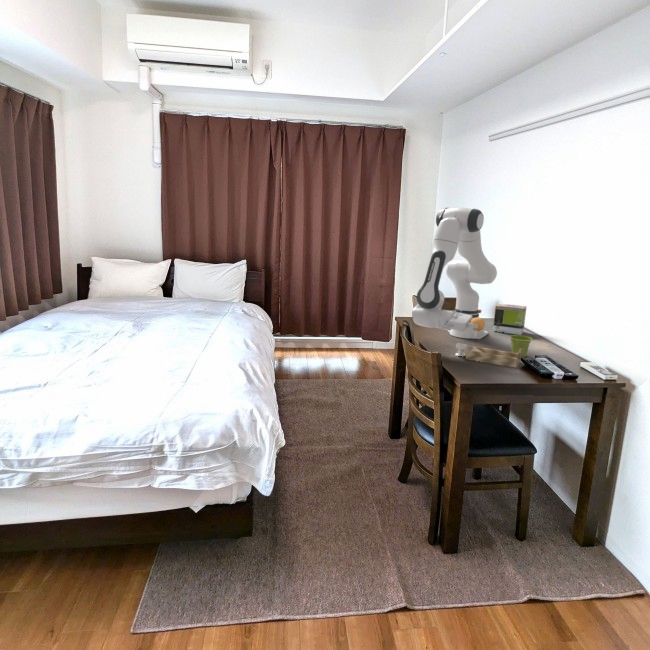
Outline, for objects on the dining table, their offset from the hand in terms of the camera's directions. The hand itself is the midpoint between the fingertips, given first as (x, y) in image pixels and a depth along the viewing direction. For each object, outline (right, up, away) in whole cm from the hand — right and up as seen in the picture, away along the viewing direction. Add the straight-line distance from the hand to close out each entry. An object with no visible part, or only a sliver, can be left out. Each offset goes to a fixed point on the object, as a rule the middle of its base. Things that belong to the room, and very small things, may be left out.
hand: (479, 324), depth 210 cm
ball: (-1, -3, +1) cm, 3 cm away
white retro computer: (+33, -4, +54) cm, 63 cm away
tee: (-7, -14, +7) cm, 17 cm away
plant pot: (+21, -14, +10) cm, 28 cm away
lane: (+6, -16, +1) cm, 17 cm away
